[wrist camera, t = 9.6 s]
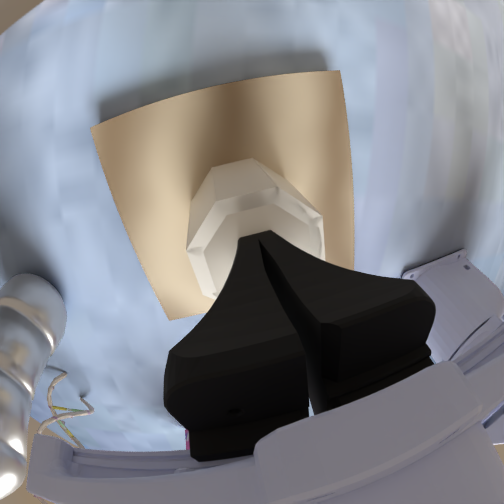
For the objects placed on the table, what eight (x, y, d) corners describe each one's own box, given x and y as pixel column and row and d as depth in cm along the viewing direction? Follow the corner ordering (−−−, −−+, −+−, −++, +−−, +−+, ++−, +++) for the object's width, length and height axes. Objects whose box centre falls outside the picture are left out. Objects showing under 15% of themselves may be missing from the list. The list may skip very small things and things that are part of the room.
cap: (280, 151, 14) (319, 177, 10) (293, 236, 17) (326, 290, 13) (182, 174, 14) (172, 212, 9) (208, 258, 17) (212, 320, 12)
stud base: (329, 72, 14) (379, 65, 9) (345, 261, 21) (379, 306, 16) (99, 125, 13) (55, 138, 8) (170, 307, 20) (166, 364, 16)
